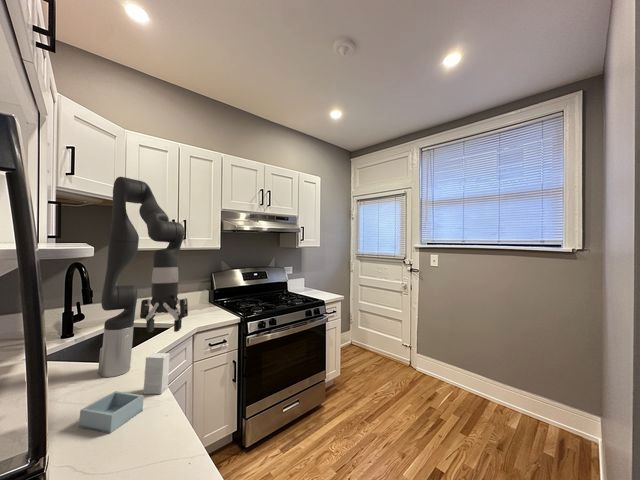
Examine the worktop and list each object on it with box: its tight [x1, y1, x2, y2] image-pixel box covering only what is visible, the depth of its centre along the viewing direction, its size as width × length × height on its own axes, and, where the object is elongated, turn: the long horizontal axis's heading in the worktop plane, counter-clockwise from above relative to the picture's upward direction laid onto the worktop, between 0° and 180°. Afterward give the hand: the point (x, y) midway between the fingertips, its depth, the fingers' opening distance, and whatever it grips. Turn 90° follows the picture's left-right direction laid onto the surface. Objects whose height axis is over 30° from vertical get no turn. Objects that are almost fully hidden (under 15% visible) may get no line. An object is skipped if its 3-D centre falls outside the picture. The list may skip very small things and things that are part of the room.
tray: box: [78, 390, 145, 434], centre depth 74 cm, size 10×10×4 cm
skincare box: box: [143, 352, 171, 395], centre depth 90 cm, size 6×4×12 cm
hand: (163, 331), depth 85 cm, fingers open, 8 cm apart
